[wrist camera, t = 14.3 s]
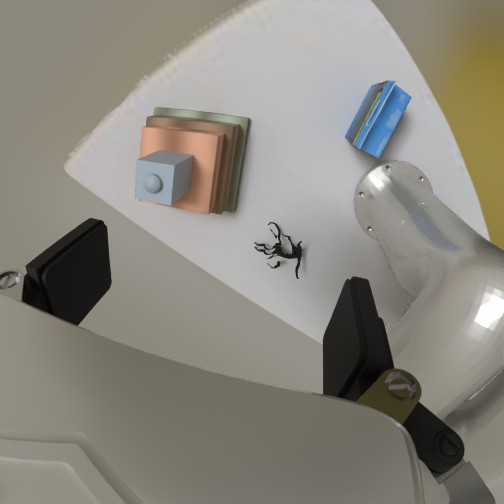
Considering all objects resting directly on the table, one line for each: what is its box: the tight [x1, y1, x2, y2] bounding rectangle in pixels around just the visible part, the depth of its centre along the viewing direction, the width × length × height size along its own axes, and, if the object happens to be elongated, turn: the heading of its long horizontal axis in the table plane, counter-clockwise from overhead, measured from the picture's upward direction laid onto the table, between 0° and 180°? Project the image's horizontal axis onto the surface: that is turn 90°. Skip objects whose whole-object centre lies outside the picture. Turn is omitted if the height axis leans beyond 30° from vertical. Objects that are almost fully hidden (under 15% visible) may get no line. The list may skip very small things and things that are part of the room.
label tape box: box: [345, 80, 411, 158], centre depth 32 cm, size 9×4×12 cm, turn 156°
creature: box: [254, 222, 302, 279], centre depth 46 cm, size 8×5×8 cm
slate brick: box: [135, 150, 194, 206], centre depth 34 cm, size 4×4×7 cm
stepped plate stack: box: [138, 107, 249, 215], centre depth 40 cm, size 14×14×8 cm
